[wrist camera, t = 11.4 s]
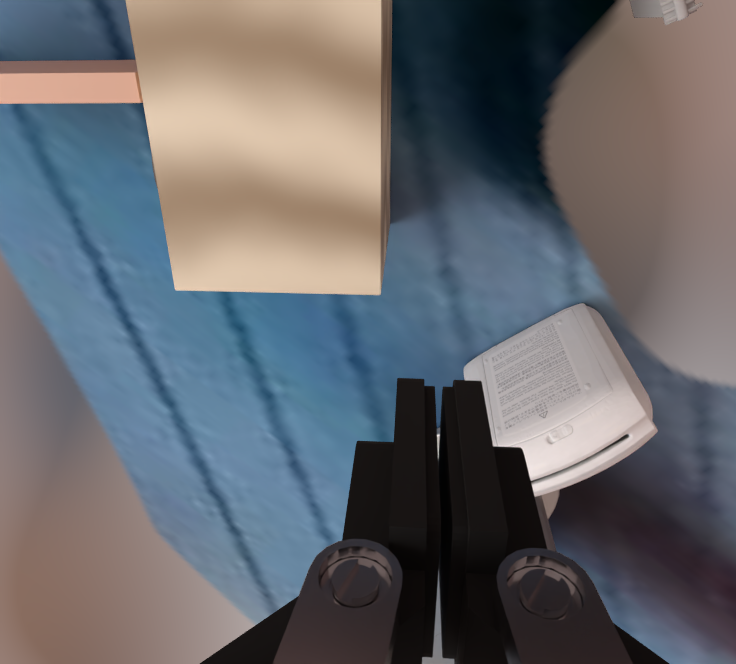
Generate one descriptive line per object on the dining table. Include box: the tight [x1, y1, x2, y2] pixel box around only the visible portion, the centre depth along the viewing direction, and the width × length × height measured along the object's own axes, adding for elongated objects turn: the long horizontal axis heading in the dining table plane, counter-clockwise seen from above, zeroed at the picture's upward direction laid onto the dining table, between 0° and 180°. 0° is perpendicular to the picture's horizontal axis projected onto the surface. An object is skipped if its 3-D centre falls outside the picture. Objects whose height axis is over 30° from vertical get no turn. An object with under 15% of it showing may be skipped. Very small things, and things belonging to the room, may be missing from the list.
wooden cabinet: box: [126, 0, 392, 295], centre depth 29 cm, size 20×11×11 cm, turn 0°
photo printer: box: [464, 303, 658, 497], centre depth 36 cm, size 10×4×12 cm, turn 126°
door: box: [0, 60, 143, 104], centre depth 30 cm, size 15×2×10 cm, turn 91°
